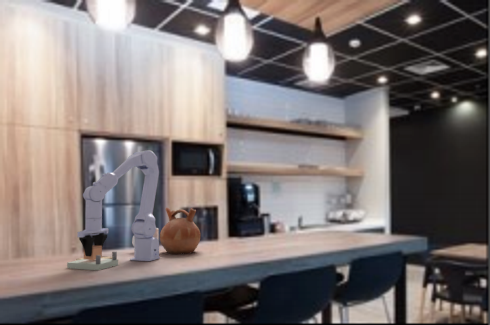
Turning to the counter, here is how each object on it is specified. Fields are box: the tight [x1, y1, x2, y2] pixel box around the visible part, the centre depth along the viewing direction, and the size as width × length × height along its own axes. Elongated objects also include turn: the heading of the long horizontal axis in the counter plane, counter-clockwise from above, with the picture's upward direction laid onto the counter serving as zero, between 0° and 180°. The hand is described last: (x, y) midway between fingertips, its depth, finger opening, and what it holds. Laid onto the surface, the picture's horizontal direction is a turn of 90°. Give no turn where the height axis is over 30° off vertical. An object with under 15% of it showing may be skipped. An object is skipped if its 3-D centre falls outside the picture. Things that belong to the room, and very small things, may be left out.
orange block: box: [83, 244, 103, 260], centre depth 155 cm, size 5×5×4 cm
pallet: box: [75, 255, 112, 261], centre depth 167 cm, size 12×9×1 cm
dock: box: [66, 251, 119, 271], centre depth 155 cm, size 14×11×5 cm
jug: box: [159, 207, 201, 255], centre depth 188 cm, size 18×18×20 cm
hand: (93, 255), depth 155 cm, fingers closed on orange block, 5 cm apart
